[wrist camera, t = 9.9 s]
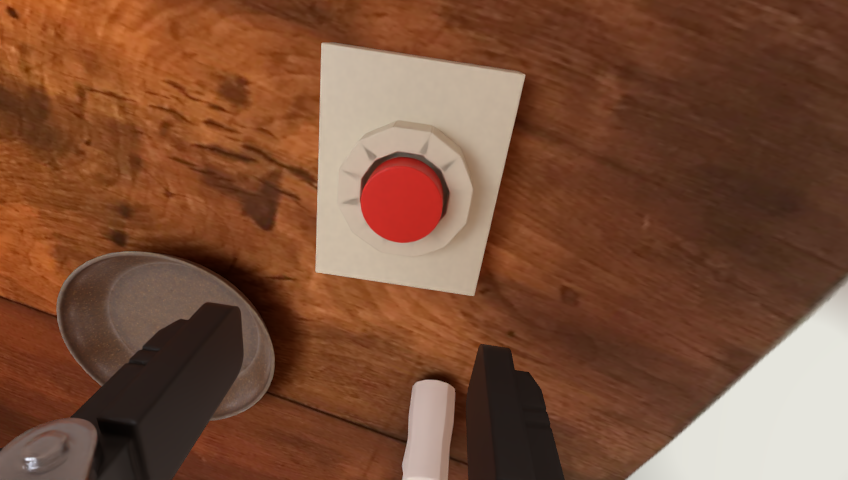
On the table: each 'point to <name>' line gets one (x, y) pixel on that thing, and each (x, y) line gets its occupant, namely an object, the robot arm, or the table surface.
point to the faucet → (429, 431)
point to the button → (402, 200)
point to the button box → (416, 138)
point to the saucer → (154, 316)
